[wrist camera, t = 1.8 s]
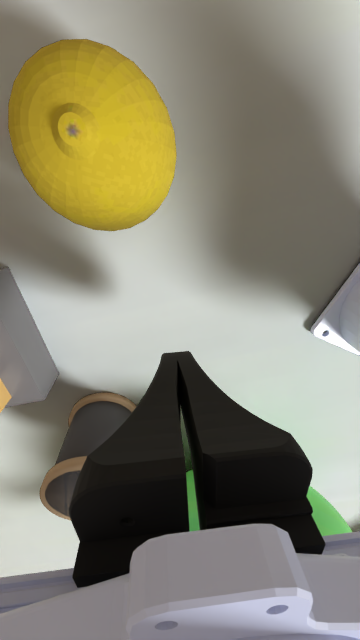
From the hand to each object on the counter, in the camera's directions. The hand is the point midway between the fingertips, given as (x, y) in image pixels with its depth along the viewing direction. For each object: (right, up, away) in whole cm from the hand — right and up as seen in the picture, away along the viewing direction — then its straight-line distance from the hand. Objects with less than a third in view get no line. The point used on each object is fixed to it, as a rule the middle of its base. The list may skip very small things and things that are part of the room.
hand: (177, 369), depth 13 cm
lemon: (-3, +11, +1) cm, 11 cm away
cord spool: (-6, -6, +8) cm, 12 cm away
